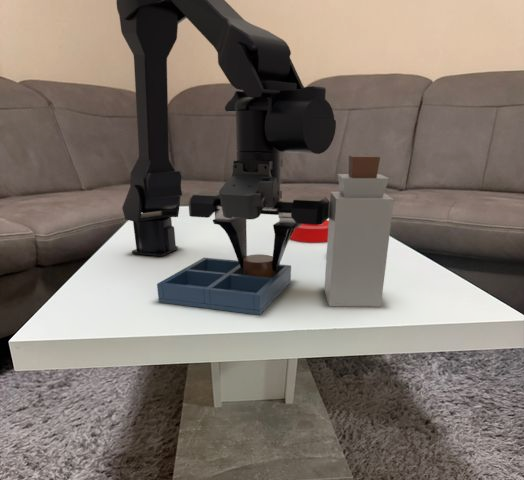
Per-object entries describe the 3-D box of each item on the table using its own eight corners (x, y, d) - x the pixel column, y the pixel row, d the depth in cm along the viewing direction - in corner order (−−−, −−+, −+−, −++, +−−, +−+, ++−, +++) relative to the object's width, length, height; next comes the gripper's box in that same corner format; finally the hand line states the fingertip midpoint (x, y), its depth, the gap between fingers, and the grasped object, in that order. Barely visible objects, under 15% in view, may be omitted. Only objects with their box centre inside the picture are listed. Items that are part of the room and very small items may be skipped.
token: (238, 278, 65) (238, 260, 64) (249, 269, 69) (249, 253, 68) (269, 281, 64) (269, 263, 63) (278, 272, 68) (279, 255, 67)
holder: (158, 302, 61) (156, 283, 60) (204, 273, 73) (203, 257, 72) (260, 315, 57) (260, 295, 56) (290, 282, 69) (291, 265, 68)
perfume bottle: (324, 289, 66) (333, 154, 58) (371, 290, 66) (386, 154, 58) (329, 306, 60) (339, 157, 52) (380, 306, 60) (398, 158, 52)
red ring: (284, 233, 101) (284, 219, 100) (326, 232, 103) (327, 217, 101) (295, 243, 92) (296, 227, 91) (340, 241, 94) (341, 225, 93)
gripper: (163, 152, 55) (174, 278, 62) (315, 155, 49) (308, 292, 56) (203, 149, 64) (209, 258, 71) (334, 151, 59) (326, 268, 66)
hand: (258, 268), depth 66 cm, fingers closed on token, 4 cm apart
